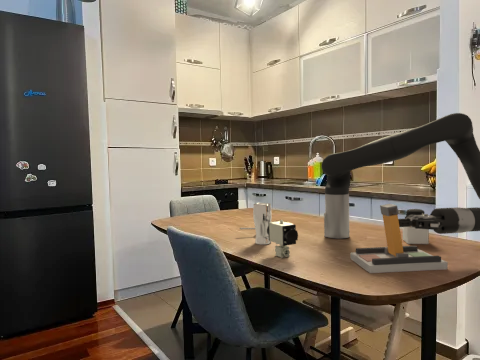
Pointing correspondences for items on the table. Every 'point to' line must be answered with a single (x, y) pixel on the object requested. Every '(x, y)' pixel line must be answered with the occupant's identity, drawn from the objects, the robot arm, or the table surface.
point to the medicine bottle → (415, 231)
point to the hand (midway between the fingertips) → (395, 223)
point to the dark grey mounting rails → (399, 259)
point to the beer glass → (262, 222)
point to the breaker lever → (392, 228)
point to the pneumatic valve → (282, 236)
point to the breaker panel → (366, 263)
